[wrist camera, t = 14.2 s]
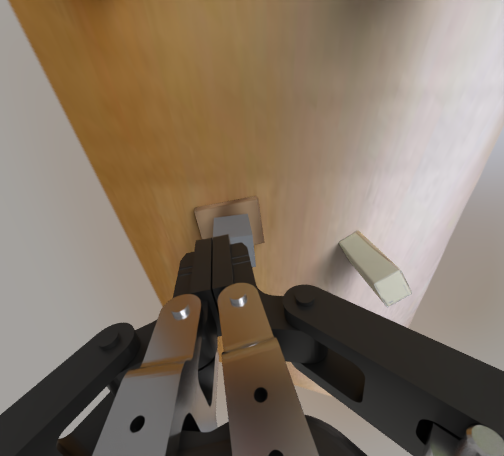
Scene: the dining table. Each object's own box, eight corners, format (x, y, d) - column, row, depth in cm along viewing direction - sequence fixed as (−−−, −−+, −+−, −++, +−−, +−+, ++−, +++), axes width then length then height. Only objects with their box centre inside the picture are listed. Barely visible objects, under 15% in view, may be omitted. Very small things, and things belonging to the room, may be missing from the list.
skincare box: (369, 251, 48) (414, 294, 37) (349, 263, 49) (387, 309, 38) (357, 229, 45) (402, 268, 34) (336, 242, 46) (374, 285, 35)
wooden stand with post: (256, 195, 39) (266, 218, 32) (262, 237, 43) (273, 267, 35) (194, 207, 39) (190, 233, 31) (206, 249, 42) (205, 281, 35)
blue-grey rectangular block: (247, 213, 37) (252, 234, 32) (250, 242, 40) (255, 266, 34) (213, 217, 37) (212, 240, 31) (219, 246, 40) (218, 271, 34)
